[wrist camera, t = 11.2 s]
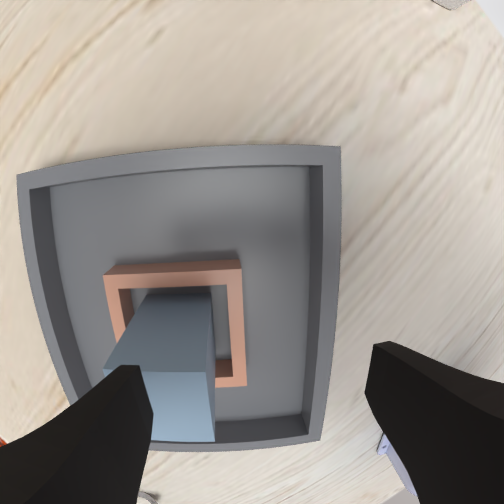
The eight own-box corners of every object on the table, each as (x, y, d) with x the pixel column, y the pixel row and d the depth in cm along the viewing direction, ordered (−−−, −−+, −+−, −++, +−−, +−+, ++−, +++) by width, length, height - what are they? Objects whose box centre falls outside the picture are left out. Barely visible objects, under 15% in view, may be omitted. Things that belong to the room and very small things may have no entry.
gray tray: (310, 415, 22) (320, 440, 19) (99, 419, 20) (89, 442, 17) (322, 151, 17) (340, 146, 14) (42, 174, 16) (16, 174, 13)
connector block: (215, 349, 19) (214, 441, 11) (155, 350, 18) (127, 437, 11) (211, 292, 18) (205, 372, 10) (146, 294, 17) (102, 369, 10)
